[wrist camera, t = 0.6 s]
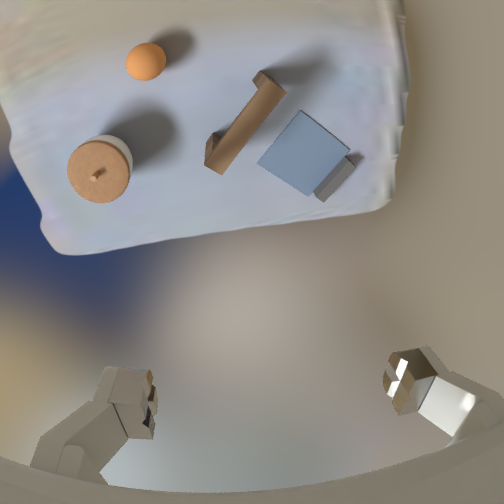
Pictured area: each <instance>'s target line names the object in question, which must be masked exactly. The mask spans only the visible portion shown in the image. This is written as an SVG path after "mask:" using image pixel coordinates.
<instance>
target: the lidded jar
mask: <svg viewBox="0 0 504 504" xmlns="http://www.w3.org/2000/svg"><path fill="white" fill-rule="evenodd" d="M132 169H133V159H132V154H131V152H130V150H129V148H128V146H127V145H126V144H125V143H124V142H123V141H122V140H121V139H119V138H117V137H115V136H112V135H98V136H95V137H92V138H90V139H89V140H87V141H85V142H84V143H83V144H82V145H80V146H79V147H78V148H77V149H76V150H75V151H74V152H73V153H72V155H71V157H70V159H69V162H68V168H67V171H68V178H69V181H70V183H71V185H72V187H73V188H74V190H75V191H76V192H77V193H78V194H79V195H80V196H82V197H83V198H85V199H87V200H89V201H92V202H96V203H106V202H110V201H113V200H115V199H117V198H118V197H119V196H121V195H122V193H123V192H124V191H125V189H126V188H127V185H128V183H129V179H130V177H131V173H132Z"/></svg>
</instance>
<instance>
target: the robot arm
mask: <svg viewBox="0 0 504 504" xmlns="http://www.w3.org/2000/svg"><path fill="white" fill-rule="evenodd" d="M389 363H390V366H389V367H388V368H387V369H386V370H385V372H384V375H383V386H384V389H385V391H386V393H387V394H388V395H389V396H391V397H393V400H392V404H393V406H394V408H395V410H396V412H397V413H398V415H404V414H408V413H412V412H416V411H418V412H419V413H420V414H421V415H423V416H424V417H425V418H427V419H428V420H430V421H431V422H432V423H434V424H435V425H437V426H438V427H439V428H441V429H442V430H444V431H445V432H446V433H448V434H449V435H451V436H452V438H451V440H450V441H449V442H448V444H447V445H446V447H444V448H442V449H439V450H437V451H434V452H432V453H429V454H426V455H423V456H421V457H418V458H415V459H412V460H409V461H406V462H403V463H399V464H397V465H393V466H389V467H386V468H383V469H379V470H375V471H372V472H368V473H364V474H360V475H356V476H351V477H347V478H343V479H338V480H332V481H328V482H322V483H316V484H310V485H304V486H298V487H290V488H282V489H273V490H262V491H249V492H231V493H186V492H166V491H152V490H142V489H132V488H125V487H118V486H111V485H108V483H107V482H106V481H105V479H104V478H103V477H102V475H101V474H100V473H99V472H100V471H101V469H102V468H103V467H104V466H105V465H106V464H107V463H108V462H109V461H110V459H111V458H112V457H113V456H114V455H115V454H116V452H118V451H119V449H120V448H121V447H122V446H123V445H124V444H125V443H126V442H127V440H128V438H133V439H153V436H154V429H155V422H154V419H153V416H154V415H156V414H157V406H158V404H157V403H158V398H157V391H156V387H155V386H154V385H152V380H153V376H152V372H151V370H150V369H137V368H124V367H121V368H119V367H109V366H107V367H106V368H105V369H104V371H103V373H102V376H101V379H100V381H99V384H98V387H97V390H96V393H95V396H94V398H93V401H88V402H87V403H85V404H84V405H83V406H81V407H80V408H79V409H77V410H76V411H75V412H73V413H72V414H71V415H69V416H68V417H67V418H65V419H64V420H63V421H61V422H60V423H59V424H57V425H56V426H55V427H53V428H52V429H51V430H49V431H48V432H47V433H45V434H44V435H43V436H41V437H40V440H39V442H38V445H37V447H36V450H35V453H34V456H33V458H32V461H31V464H30V467H29V466H26V465H23V464H20V463H17V462H14V461H11V460H8V459H5V458H3V457H0V504H504V399H503V398H502V396H501V395H500V394H499V393H498V392H496V391H494V390H491V389H489V388H487V387H485V386H483V385H481V384H479V383H477V382H474V381H472V380H470V379H468V378H466V377H464V376H462V375H460V374H458V373H456V372H453V371H452V372H449V370H448V369H447V368H446V367H445V365H444V364H443V362H442V361H441V360H440V359H439V357H438V356H437V355H436V354H435V352H434V351H433V350H432V349H431V347H429V346H422V347H417V348H413V349H408V350H403V351H397V352H393V353H392V354H391V355H390V358H389Z"/></svg>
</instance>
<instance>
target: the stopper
mask: <svg viewBox="0 0 504 504" xmlns="http://www.w3.org/2000/svg"><path fill="white" fill-rule="evenodd" d="M355 168H356V167H355V165H354V164H353V163H352V162H351V161H350V160H349V159H347V158H346V157H345V156H344V157H343V158H342V159H341V161H340V162H339V163H338V164H337V165H336V166H335V167H334V168H333V169H332V171H331V172H330V173H329V174H328V175H327V176H326V177H325V178H324V179H323V181H322V182H321V183H320V184H319V185H318V186H317V187H316V188H315V189H314V191H313V192H314V194H315V196H316V197H317V198H318V199H320V200H321V201H322V202H325V201H326V200H327V199H328V197H329V196H330V195H331V194H332V193H333V192H334V191H335V190H336V189H337V188H338V187H339V186H340V184H341V183H342V182H343V181H344V180H345V179H346V178H347V177H348V176H349V175H350V174H351V173H352V171H353V170H354V169H355Z"/></svg>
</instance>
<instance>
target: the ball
mask: <svg viewBox="0 0 504 504" xmlns="http://www.w3.org/2000/svg"><path fill="white" fill-rule="evenodd" d="M165 65H166V55H165V52H164V51H163V49H162V48H161V47H160V46H158V45H156V44H153V43H143V44H140V45H138V46H136V47H135V48H133V49H132V50H131V51H130V53H129V54H128V56H127V60H126V68H127V71H128V72H129V74H130V75H131V76H132V77H133V78H135V79H137V80H142V81H146V80H151V79H154V78H156V77H157V76H158V75H160V74H161V72H162V71H163V70H164V68H165Z"/></svg>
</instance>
